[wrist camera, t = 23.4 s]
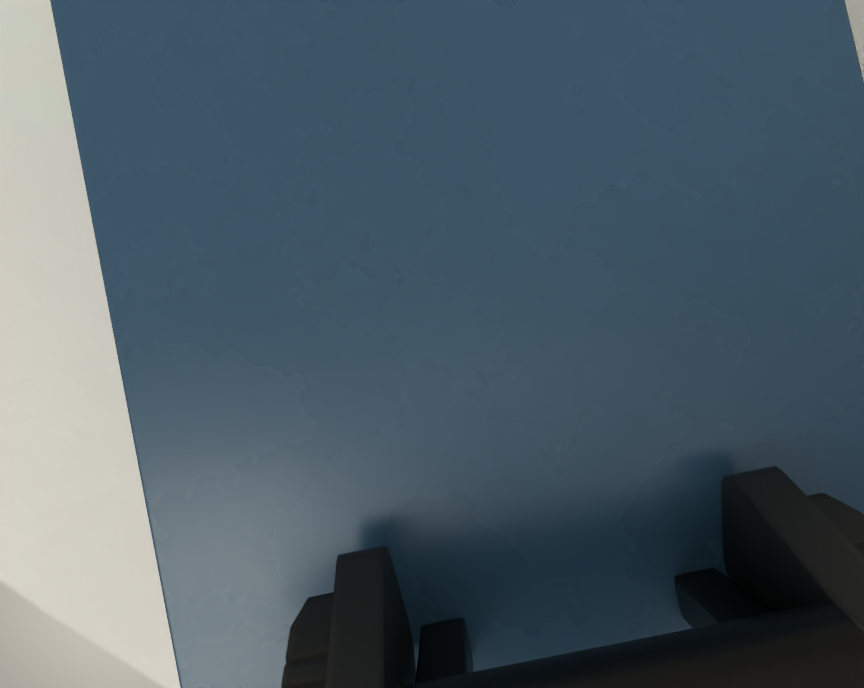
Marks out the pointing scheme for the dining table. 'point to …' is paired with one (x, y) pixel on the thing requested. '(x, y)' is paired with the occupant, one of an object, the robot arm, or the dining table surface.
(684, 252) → the toolbox lid
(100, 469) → the dining table surface
